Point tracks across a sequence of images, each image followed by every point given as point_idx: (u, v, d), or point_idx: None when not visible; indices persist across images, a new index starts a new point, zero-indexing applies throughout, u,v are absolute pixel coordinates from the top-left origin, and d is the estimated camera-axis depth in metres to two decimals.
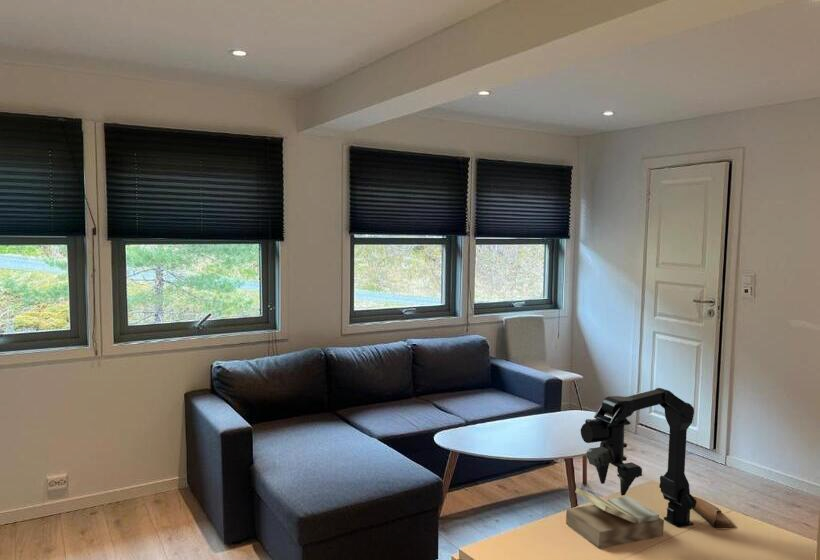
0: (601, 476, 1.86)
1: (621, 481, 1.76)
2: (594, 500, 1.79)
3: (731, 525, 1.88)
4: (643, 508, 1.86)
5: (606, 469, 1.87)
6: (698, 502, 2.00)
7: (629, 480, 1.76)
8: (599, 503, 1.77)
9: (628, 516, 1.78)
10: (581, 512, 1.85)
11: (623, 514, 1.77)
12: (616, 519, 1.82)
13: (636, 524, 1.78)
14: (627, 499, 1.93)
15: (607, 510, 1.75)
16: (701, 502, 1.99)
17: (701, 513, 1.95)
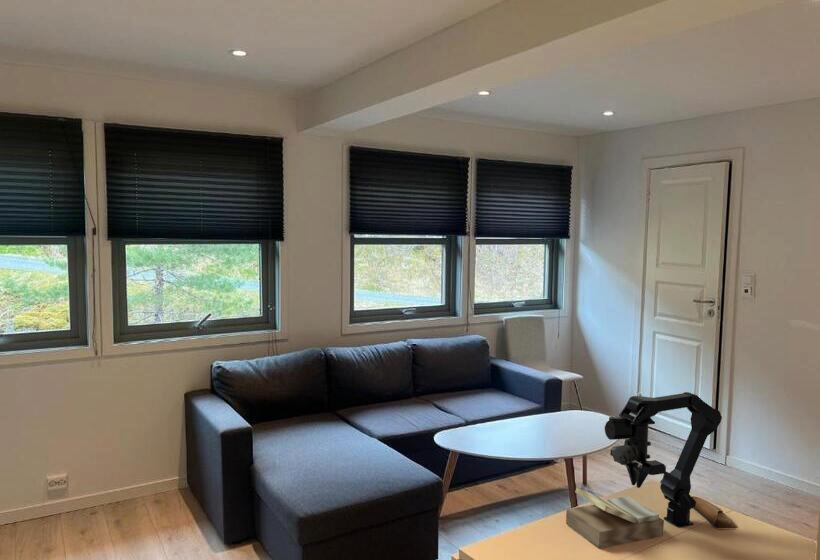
0: (632, 477, 1.88)
1: (637, 474, 1.85)
2: (594, 500, 1.79)
3: (732, 526, 1.88)
4: (643, 508, 1.86)
5: None
6: (700, 502, 2.00)
7: (645, 473, 1.85)
8: (599, 503, 1.77)
9: (628, 516, 1.78)
10: (581, 512, 1.85)
11: (623, 514, 1.77)
12: (616, 519, 1.82)
13: (636, 524, 1.78)
14: (627, 499, 1.93)
15: (607, 510, 1.75)
16: (703, 502, 1.99)
17: (702, 513, 1.95)
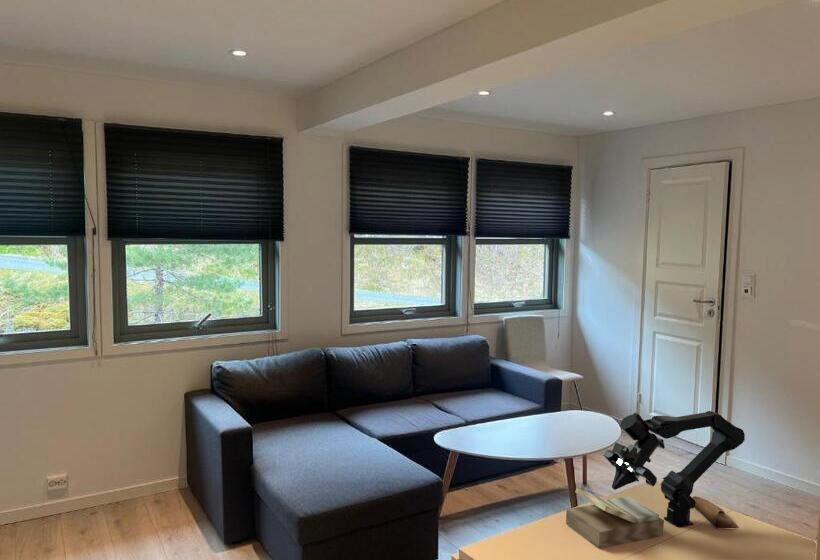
0: None
1: (622, 475, 1.84)
2: (594, 500, 1.79)
3: (733, 526, 1.88)
4: (643, 508, 1.86)
5: None
6: (701, 502, 2.00)
7: (627, 480, 1.84)
8: (599, 503, 1.77)
9: (628, 516, 1.78)
10: (581, 512, 1.85)
11: (623, 514, 1.77)
12: (616, 519, 1.82)
13: (636, 524, 1.78)
14: (627, 499, 1.93)
15: (607, 510, 1.75)
16: (704, 502, 1.99)
17: (703, 513, 1.95)
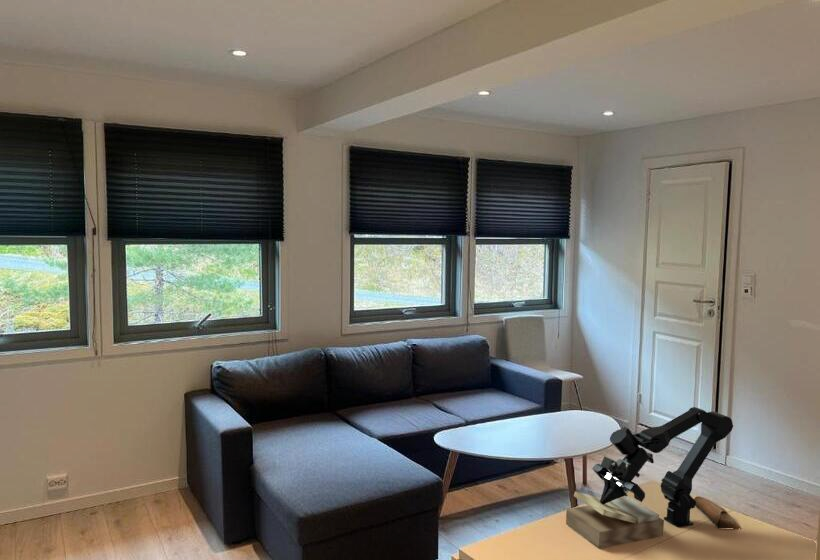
0: (604, 495, 1.83)
1: (610, 489, 1.82)
2: (592, 504, 1.79)
3: (735, 526, 1.88)
4: (643, 508, 1.86)
5: None
6: (704, 502, 1.99)
7: (616, 494, 1.83)
8: (597, 507, 1.77)
9: (627, 517, 1.78)
10: (581, 512, 1.85)
11: (622, 516, 1.77)
12: (616, 519, 1.82)
13: (636, 524, 1.78)
14: (627, 499, 1.93)
15: (606, 514, 1.75)
16: (707, 502, 1.99)
17: (706, 513, 1.95)
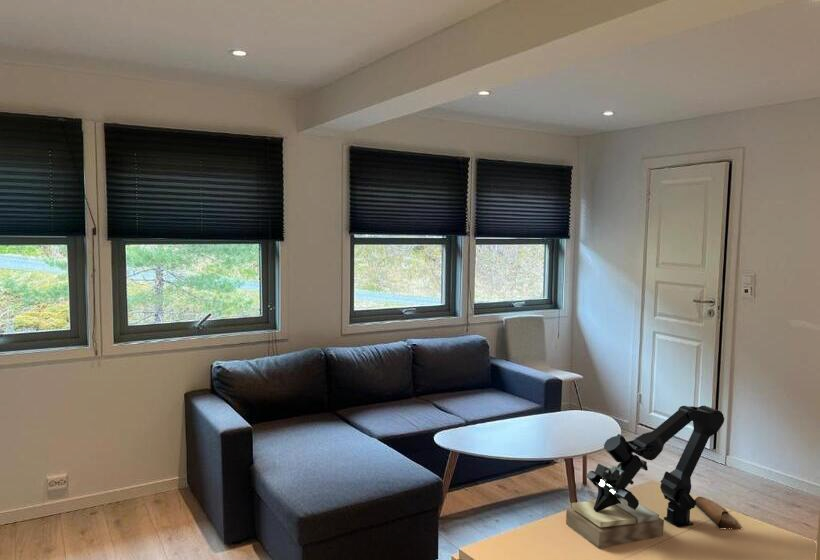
0: None
1: (604, 497, 1.82)
2: (589, 516, 1.79)
3: (736, 526, 1.88)
4: (643, 508, 1.86)
5: None
6: (705, 502, 1.99)
7: (610, 502, 1.82)
8: (594, 519, 1.77)
9: (626, 520, 1.78)
10: None
11: (620, 521, 1.77)
12: None
13: (636, 524, 1.78)
14: None
15: (603, 525, 1.75)
16: (708, 502, 1.99)
17: (707, 513, 1.95)
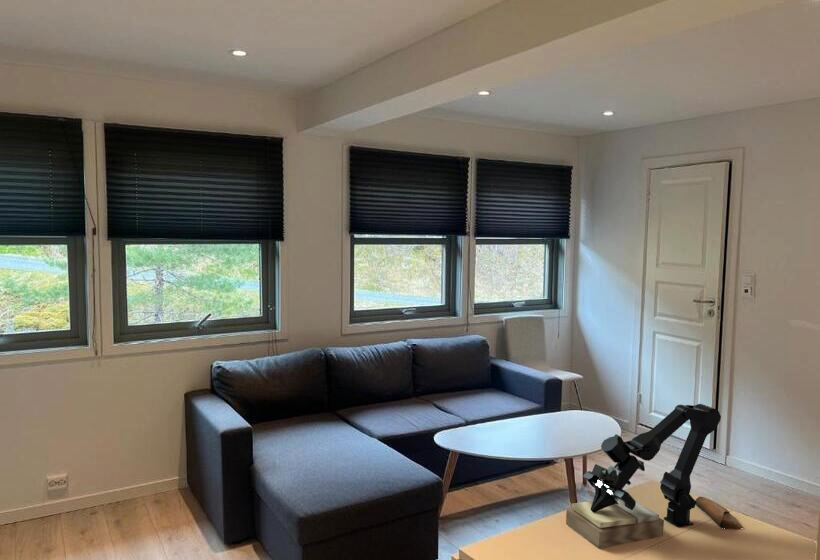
0: None
1: (601, 497, 1.81)
2: (589, 517, 1.79)
3: (738, 526, 1.88)
4: (643, 508, 1.86)
5: None
6: (706, 502, 1.99)
7: (607, 502, 1.81)
8: (594, 520, 1.77)
9: (626, 520, 1.78)
10: None
11: (620, 521, 1.77)
12: None
13: (636, 524, 1.78)
14: None
15: (603, 526, 1.75)
16: (709, 502, 1.99)
17: (708, 513, 1.95)
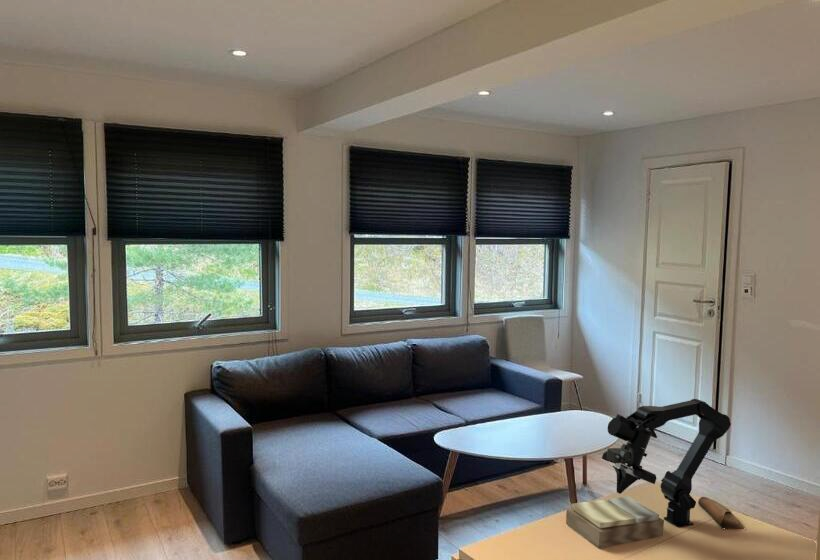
0: (619, 485, 1.85)
1: (622, 478, 1.84)
2: (589, 517, 1.79)
3: (739, 527, 1.88)
4: (643, 508, 1.86)
5: None
6: (709, 502, 1.99)
7: (630, 480, 1.84)
8: (594, 520, 1.77)
9: (626, 521, 1.78)
10: None
11: (620, 521, 1.77)
12: None
13: (636, 524, 1.78)
14: (627, 499, 1.93)
15: (603, 526, 1.75)
16: (711, 502, 1.99)
17: (710, 513, 1.95)
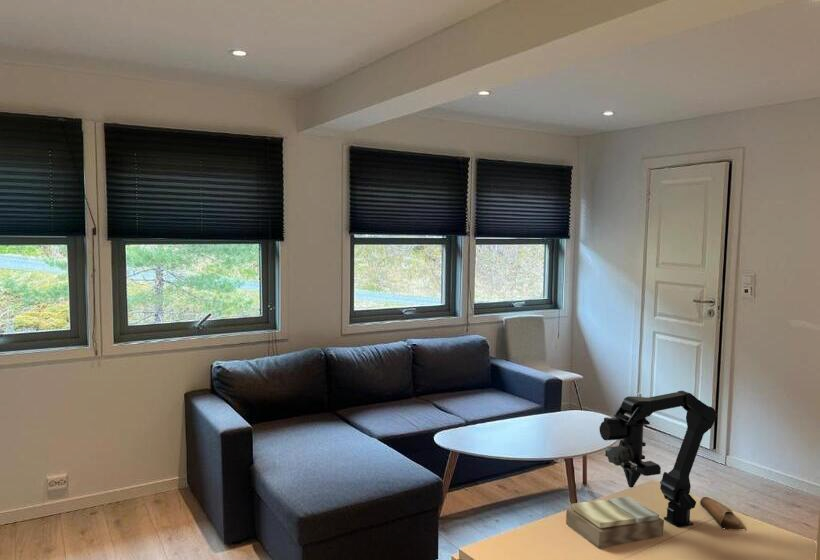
0: None
1: (630, 474, 1.85)
2: (589, 517, 1.79)
3: (740, 527, 1.87)
4: (643, 508, 1.86)
5: None
6: (710, 502, 1.99)
7: (637, 473, 1.85)
8: (594, 520, 1.77)
9: (626, 521, 1.78)
10: None
11: (620, 521, 1.77)
12: None
13: (636, 524, 1.78)
14: (627, 499, 1.93)
15: (603, 526, 1.75)
16: (713, 503, 1.99)
17: (711, 513, 1.95)
